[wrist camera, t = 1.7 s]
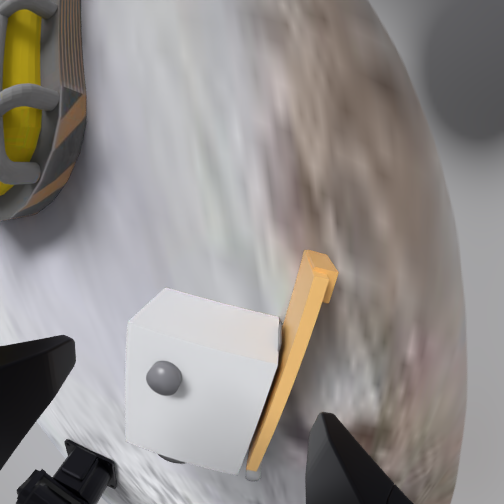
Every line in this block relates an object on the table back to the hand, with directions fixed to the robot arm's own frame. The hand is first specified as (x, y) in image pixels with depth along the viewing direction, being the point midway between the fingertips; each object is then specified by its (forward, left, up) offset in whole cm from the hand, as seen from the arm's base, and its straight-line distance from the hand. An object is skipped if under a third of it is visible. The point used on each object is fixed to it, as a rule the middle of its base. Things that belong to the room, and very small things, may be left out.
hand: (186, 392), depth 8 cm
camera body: (-7, +1, -12) cm, 14 cm away
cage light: (+14, +24, -13) cm, 31 cm away
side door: (-5, -4, -12) cm, 14 cm away
